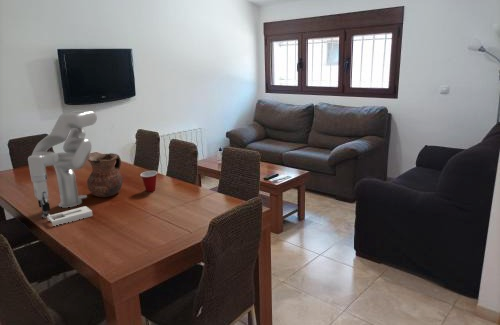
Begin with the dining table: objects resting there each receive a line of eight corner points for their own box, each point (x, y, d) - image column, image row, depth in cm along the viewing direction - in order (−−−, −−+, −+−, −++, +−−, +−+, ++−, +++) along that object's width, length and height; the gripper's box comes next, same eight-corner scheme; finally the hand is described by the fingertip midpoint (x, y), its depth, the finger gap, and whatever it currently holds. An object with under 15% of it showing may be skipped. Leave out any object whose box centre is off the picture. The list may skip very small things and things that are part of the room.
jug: (111, 200, 226) (106, 160, 219) (81, 198, 230) (75, 160, 223) (130, 188, 247) (126, 152, 240) (102, 187, 251) (97, 151, 244)
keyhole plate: (86, 211, 210) (85, 206, 209) (92, 215, 203) (92, 210, 202) (47, 221, 197) (46, 216, 197) (53, 226, 190) (52, 221, 189)
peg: (49, 214, 206) (46, 194, 203) (51, 217, 203) (48, 196, 200) (40, 217, 203) (37, 196, 200) (43, 219, 200) (39, 198, 197)
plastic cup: (138, 191, 240) (136, 174, 237) (149, 187, 249) (148, 169, 246) (151, 194, 235) (149, 176, 232) (162, 189, 244) (160, 171, 241)
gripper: (27, 176, 201) (33, 206, 206) (35, 183, 189) (41, 215, 193) (42, 173, 206) (47, 202, 210) (51, 179, 193) (56, 211, 198)
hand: (44, 208), depth 202 cm, fingers open, 7 cm apart
